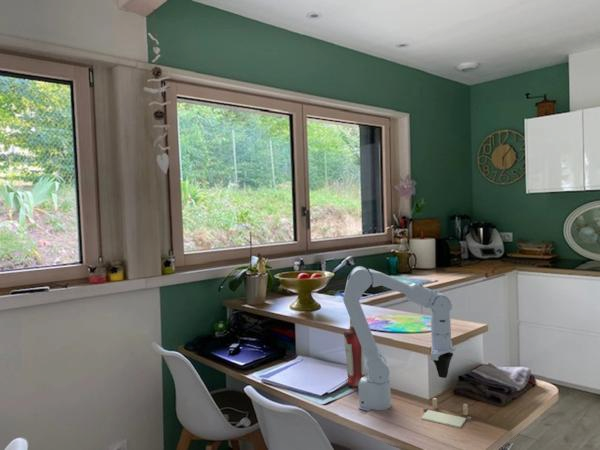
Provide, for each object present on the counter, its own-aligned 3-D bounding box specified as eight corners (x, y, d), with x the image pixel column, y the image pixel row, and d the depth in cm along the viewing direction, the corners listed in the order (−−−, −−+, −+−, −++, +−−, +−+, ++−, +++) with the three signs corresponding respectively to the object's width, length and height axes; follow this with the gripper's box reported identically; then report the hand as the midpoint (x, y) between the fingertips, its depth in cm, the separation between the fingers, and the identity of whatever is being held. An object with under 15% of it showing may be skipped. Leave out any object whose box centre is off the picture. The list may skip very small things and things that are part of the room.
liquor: (344, 382, 161) (340, 305, 161) (364, 380, 162) (360, 304, 161) (348, 390, 154) (344, 309, 154) (369, 388, 155) (365, 308, 154)
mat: (411, 423, 127) (411, 410, 127) (431, 403, 140) (430, 391, 140) (465, 436, 119) (465, 422, 119) (481, 413, 132) (480, 400, 132)
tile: (428, 409, 133) (428, 411, 133) (420, 417, 128) (420, 420, 128) (467, 417, 126) (467, 420, 126) (460, 426, 121) (460, 429, 121)
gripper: (446, 340, 128) (448, 387, 129) (461, 328, 140) (463, 371, 140) (422, 337, 132) (424, 382, 133) (438, 326, 144) (440, 368, 144)
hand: (443, 376), depth 137 cm, fingers closed
